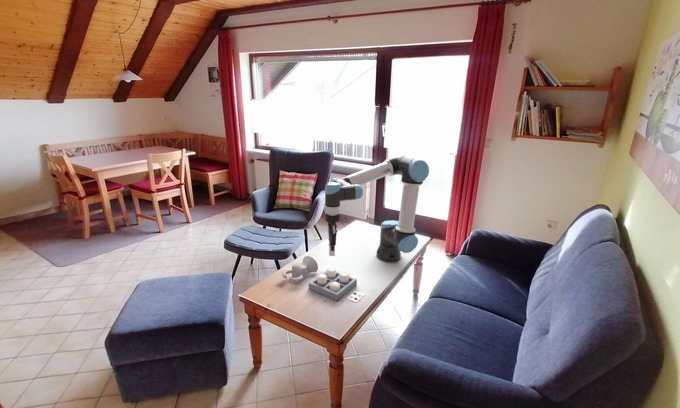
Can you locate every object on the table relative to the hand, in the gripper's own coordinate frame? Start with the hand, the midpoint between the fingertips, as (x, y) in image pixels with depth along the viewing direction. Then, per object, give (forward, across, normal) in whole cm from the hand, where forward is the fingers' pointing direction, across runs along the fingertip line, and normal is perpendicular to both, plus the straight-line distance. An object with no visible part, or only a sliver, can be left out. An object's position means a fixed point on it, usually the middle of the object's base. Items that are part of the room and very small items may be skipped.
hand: (331, 255), depth 178 cm
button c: (+13, +5, +6) cm, 15 cm away
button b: (+13, +5, -6) cm, 15 cm away
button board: (+16, +6, 0) cm, 17 cm away
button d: (+13, 0, 0) cm, 13 cm away
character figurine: (+16, -8, -16) cm, 24 cm away
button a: (+15, +11, 0) cm, 19 cm away
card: (+16, +16, +10) cm, 24 cm away
